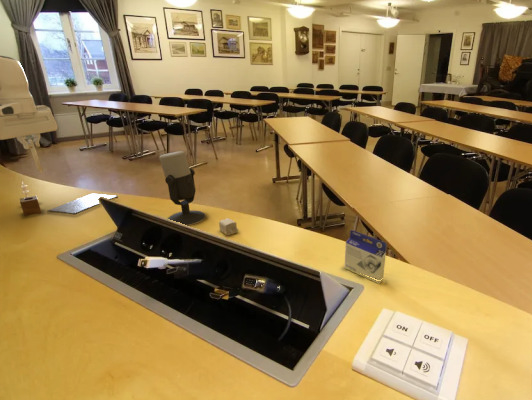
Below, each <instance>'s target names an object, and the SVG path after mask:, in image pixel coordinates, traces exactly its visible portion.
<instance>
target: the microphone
mask: <svg viewBox="0 0 532 400" xmlns="http://www.w3.org/2000/svg"><path fill="white" fill-rule="evenodd" d="M158 159H159V162H160V165H161V169H162V173H163V175H164V178H165V179H164V180H165V181H164V182H165V183H166V185H167V187H168V194H169V199H170V200H171V202H172V203H173V204H174V205H177V206H180V208H181V211H179V212H176V213H174V214H172V215H169V217H168V218H167V220H168V219H170V220H173V221H176V222H180V223H182V224H185V225H188V226H189V227H190V226H193V225H197V224H199V223H201V222H203V221H204V220H205V219H206V213H205V212H203V211H201V210H190V204H191V203H193V201H194V200H195V196H196V191H197V190H196V184H195V179H194V178H195V174H196V172H195V170H194V169H193V168H190V165H189V162H188V158H187V156H186V152H185V151H183V150H179V151H173V152H168V153H165V154H160V156H159V157H158ZM188 226H187V227H188Z"/></svg>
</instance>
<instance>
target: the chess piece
mask: <svg viewBox="0 0 532 400" xmlns="http://www.w3.org/2000/svg"><path fill="white" fill-rule="evenodd" d="M21 184H22V185H21V186H20V188H21V190H22V192H21V193H22V194H24V198H26V197H31V196H30V195H29V193H30V190H28V185H27V184H25V182H24V181H23V180H22V181H21Z"/></svg>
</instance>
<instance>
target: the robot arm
mask: <svg viewBox="0 0 532 400" xmlns="http://www.w3.org/2000/svg"><path fill="white" fill-rule="evenodd" d="M52 113H53V112H52V109H51V108H50V107H49V106H47V105H45V104H41V105H36V103H35V100H34V97H33V95H32V94H31V92H30V90H29V81H28V79H27V75H26V73H25V71H24V68H23V67H22V65H21V63H20V61H18V60H17V59H15V58H13V57H10V56H7V55H0V141H2V140H3V141H4V140H9V139H15V138H16V140H17V141H18V142H19V143H20V144H21V145H22V146H23V149H24V150H30V148H32V146H31V143H28V141H27V140H26V138H27V137H26V136H31V137H32V140H33V143H34V146H35V148H39V147H41V145H40V144H41V143H40V141H41V137H42V136H41V134H44V133H49V132H56V131H57V130H58V129H59V128H58V127H59V126H58V123H57V121H56V119H55V117H54V114H52Z"/></svg>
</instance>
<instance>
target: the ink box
mask: <svg viewBox="0 0 532 400" xmlns="http://www.w3.org/2000/svg"><path fill="white" fill-rule="evenodd" d="M349 231H350V232H349V238H348V239H347V240H346V241H345V250H344V264H343V265H344V269H346V270H348V271H349V272H352V273H354V274H356V275H359V276H360V277H363V278H365V279H367V280H369V281H371V282H374V283H376V284H378V285H380V284H381V283H382V282H383V281H384V276H385V267H386V255H387V247H388V243H387V242H386V241H384V240H380V239H378V238H375V237H372V236H370V235H368V234H364V233H361V232H359V231H356V230H354V229H350V230H349ZM367 240H368V241H367ZM360 273H361V274H360ZM363 274H364V275H363ZM365 275H367V276H369V277H367V276H365ZM370 277H372V278H375V279H377V280H381V279H382V278H383V279H382V280H381V281H376V280H374V279H372V278H370Z"/></svg>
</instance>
